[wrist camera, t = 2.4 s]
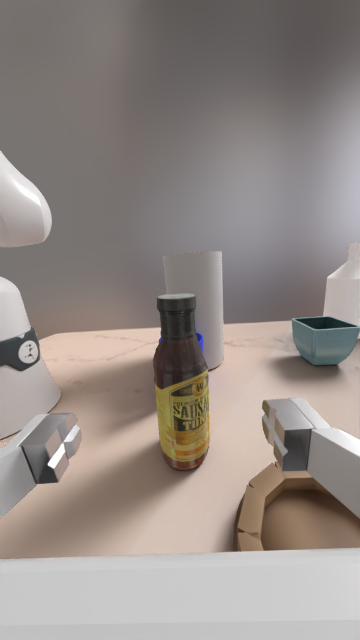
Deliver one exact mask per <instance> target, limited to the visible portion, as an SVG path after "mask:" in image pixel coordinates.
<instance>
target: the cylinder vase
mask: <svg viewBox="0 0 360 640" xmlns="http://www.w3.org/2000/svg"><path fill="white" fill-rule="evenodd" d="M163 261H164V270H165V280H166V290H167V295H168V294H186V293H188V294H194V295H195V296H196V309H195V328H196V332H197V333H199V334H201V335H202V336H203V356H204V358H205V361H206V364H207V366H208V370H210V369H213V368H215V367H217V366H219V365H220V364H221V363H222V362H223V359H224V338H223V292H222V252H221V251H211V252H195V253H184V254H176V255H169V256H165V257H163Z"/></svg>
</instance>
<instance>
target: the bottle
mask: <svg viewBox="0 0 360 640" xmlns="http://www.w3.org/2000/svg"><path fill="white" fill-rule="evenodd" d="M348 249H349V255H348V261H347V262H346V263H345V264H343V266H341V267H340V268H339V269H338V270H337V271H335V272H334V273H333V274H332V275H330V276H329V277H328V278H327V285H326V295H325V304H324V314H323V316H330V317H334V318H337V319H340V320H343V321H346V322H349V323H352V324H355V325H358V326H360V243H351V244H348ZM357 339H360V332H359V335H358V338H357Z"/></svg>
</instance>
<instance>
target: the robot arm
mask: <svg viewBox="0 0 360 640" xmlns="http://www.w3.org/2000/svg"><path fill="white" fill-rule="evenodd" d="M51 224H52V219H51V213H50V209H49V206H48V204H47V202H46V200H45V198H44V197H43V195H42V194H41V192H40V191H39V190H38V189H37V188H36V187H35V186H34V185H33V184H32V183H31V182H30V181H29V180H28V179H26V178H25V177H24V176H23V175H22V174H21V173H19V172H18V170H16V168H15V167H14V166H13V165H12V164H11V163H10V162H9V161H8V160H7V159H6V157H5V156H4V155H3V154H2V152H1V151H0V247H17V246H23V245H30V244H36V243H41V242H43V241H44V240H45V239H46V238H47V236H48V234H49V232H50V229H51ZM60 397H61V390H60V388H59V387H58V386H57V384H56V383H55V380H54V378H53V377H52V376H51V374H50V372H49V370H48V368H47V366H46V364H45V362H44V360H43V358H42V356H41V354H40V349H39V342H38V339H37V335H36V333H35V330H34V328H32V327H30V324H29V321H28V318H27V314H26V311H25V308H24V304H23V302H22V298H21V295H20V292H19V290H18V289H17V287H16V286H15V285H14V284H13V283H11V282H10V281H9V280H7V279H5V278H2V277H0V439H2V438H4V437H7V436H9V435H11V434H13V433H16V432H18V431H20V430H21V431H20V432H19V433H18V434H17V435H16V436H15V437H14V438H13V439H12V440H11V441H10V442H9V443H8V444H7V445H6V446H5V447H2V448H0V519H1V518H2V517H3V516H4V515H5V514H6V513H7V512H8V511H9V510H11V509H12V508H13V507H14V506H15V505H16V504H17V503H18V502H19V501H20V500H21V499H22V498H23V497H25V496H26V495H27V494H28V493H29V492H30V491H31V490H32V489H33V488H34V487H35V486H36V484H45V483H57V482H59V481H60V479H61V477H62V475H63V474H64V472H65V470H66V469H67V467H68V465H69V459H70V458H71V457H72V456H73V455H74V454H75V453H76V452H77V450H78V448H79V446H80V442H81V430H80V428H79V427H78V426H76V425H75V424H76V422H77V417H76V414H74V413H53V414H46V413H48V412H49V411H50V410H51V409H52V408H53V407H54V406H55V405H56V404H57V402H58V401H59V399H60ZM262 409H263V410H264V412H265V414H264V416H263V417H262V425H263V431H264V434H265V437H266V439H267V441H268V443H269V444H271V445H272V446H273V447H274V455H275V457H276V459H277V461H278V463H279V465H280V467H281V469H282V471H307V473H309V474H310V475H311V476H312V477H313V478H314V479H315V480H316V481H318V482H319V483H320V484H321V485H322V486H323V487H324V488H326V489H327V490H328V491H329V492H330V493H331V494H332V495H333V496H335V497H336V498H337V499H338V500H339V501H340V502H341V503H342V504H344V505H345V506H346V507H347V508H348V509H349V510H350V511H352V512H353V513H354V514H355V515H356V516H357V517H358V518H359V519H360V440H359V439H357V438H355V437H353V436H351V435H349V434H347V433H345V432H343V431H341V430H339V429H337V428H331V427H330V426H329V425H328V424H327V423H326V422H325V421H324V420H323V418H322V417H321V416H320V415H319V414H318V413H317V412H316V411H315V410H314V409H313V408H312V407H311V406H310V405H309V404H308V403H307V401H306V400H305V399H304V398H302V397H294V398H288V399H287V398H286V399H272V400H263V405H262ZM0 640H360V548H338V549H307V550H275V551H243V552H211V553H179V554H148V555H118V556H88V557H57V558H26V559H0Z"/></svg>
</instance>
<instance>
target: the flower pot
mask: <svg viewBox="0 0 360 640" xmlns="http://www.w3.org/2000/svg"><path fill="white" fill-rule="evenodd" d="M292 329H293V339H294V342H295V345H296V347H297V349H298V351H299V353H300V354H301V356H302V357H304V358H305V359H306V360H308V361H309V362H310V363H312V364H313V365H333V364H339V363H341V362H342V361H343V360H344V359H346V358H347V357H348V356H349V355H350V353H351V352H352V350H353V348H354V346H355V343H356V341H357V338H358V335H359V332H360V326H358V325H355V324H352V323H349V322H346V321H343V320H340V319H337V318H334V317H330V316H322V317H309V318H295V319H292Z"/></svg>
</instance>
